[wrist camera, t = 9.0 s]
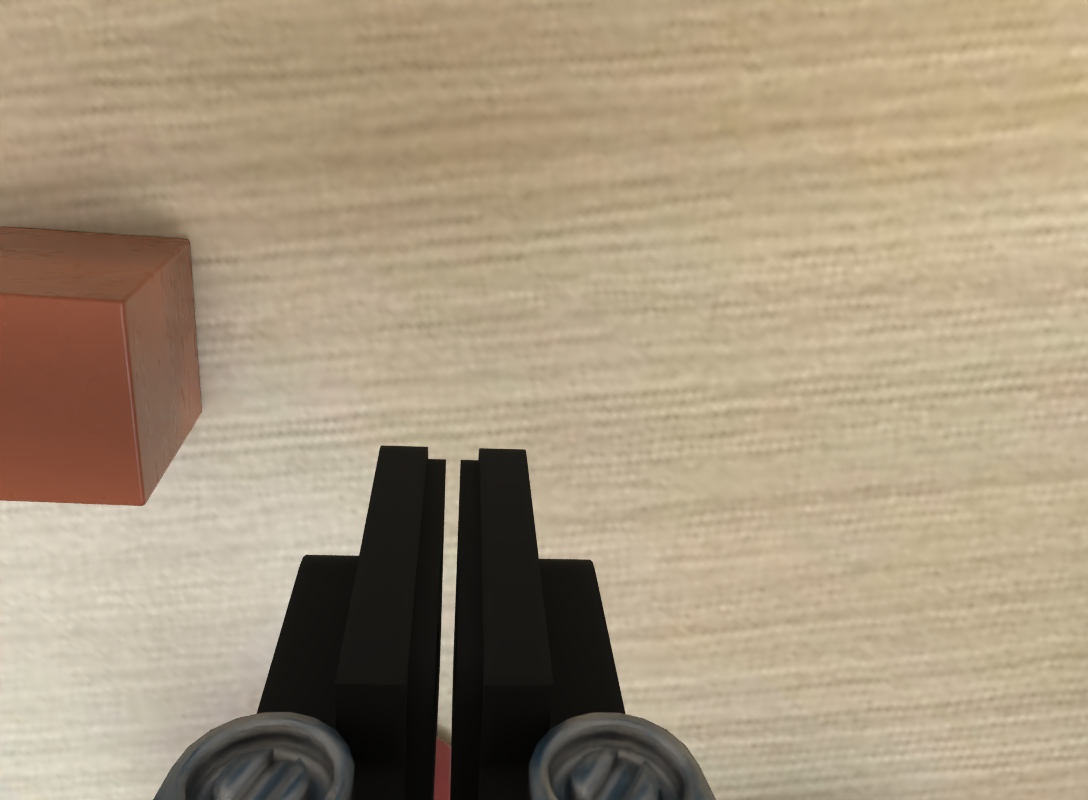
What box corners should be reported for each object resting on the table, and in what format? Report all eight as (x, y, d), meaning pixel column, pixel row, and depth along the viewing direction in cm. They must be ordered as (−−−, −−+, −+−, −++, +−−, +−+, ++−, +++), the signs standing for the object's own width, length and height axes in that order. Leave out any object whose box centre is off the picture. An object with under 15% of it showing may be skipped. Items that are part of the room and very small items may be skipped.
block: (-15, 224, 21) (-134, 285, 17) (190, 238, 21) (123, 301, 17) (14, 404, 23) (-86, 498, 19) (202, 413, 23) (144, 507, 19)
